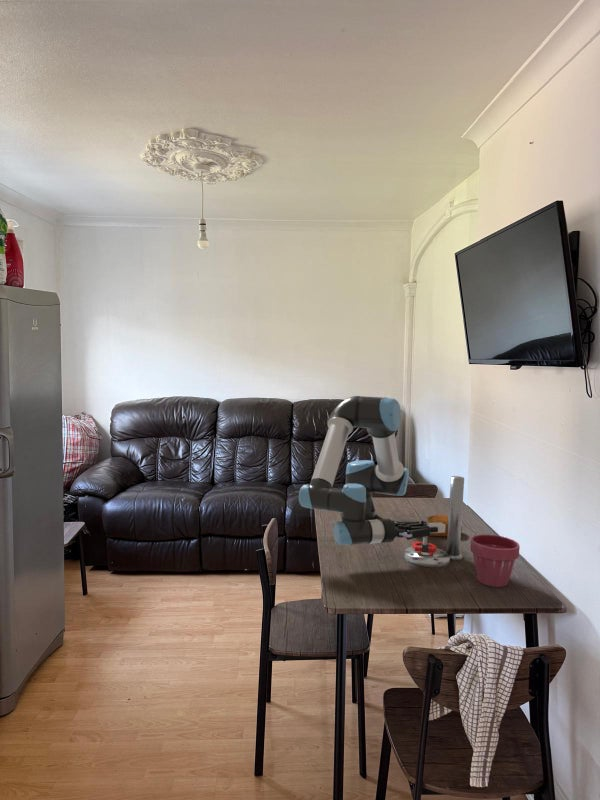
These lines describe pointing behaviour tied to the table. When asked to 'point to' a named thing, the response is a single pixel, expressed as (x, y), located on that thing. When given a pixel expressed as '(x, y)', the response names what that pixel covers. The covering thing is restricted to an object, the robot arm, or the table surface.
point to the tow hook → (424, 543)
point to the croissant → (438, 520)
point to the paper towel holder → (453, 537)
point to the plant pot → (494, 558)
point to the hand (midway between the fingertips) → (443, 527)
